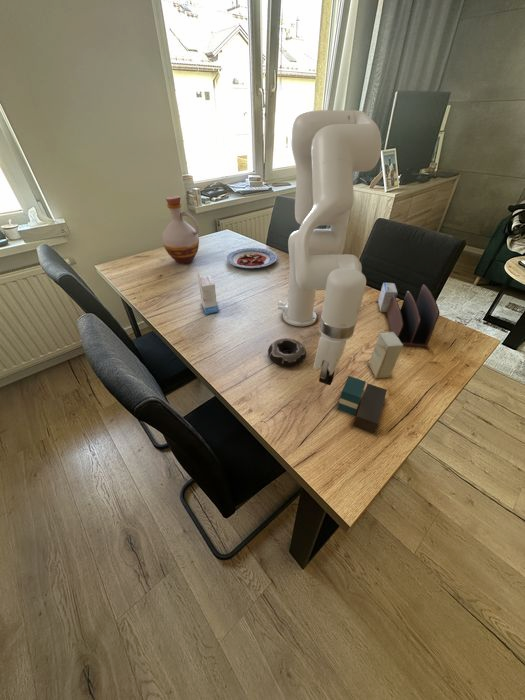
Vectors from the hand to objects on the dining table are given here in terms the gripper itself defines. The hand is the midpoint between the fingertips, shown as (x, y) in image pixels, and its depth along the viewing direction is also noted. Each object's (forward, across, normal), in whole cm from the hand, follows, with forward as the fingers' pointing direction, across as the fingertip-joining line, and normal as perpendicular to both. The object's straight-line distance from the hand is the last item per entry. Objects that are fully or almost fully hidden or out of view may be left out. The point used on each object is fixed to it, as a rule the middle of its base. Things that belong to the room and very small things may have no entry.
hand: (325, 381), depth 75 cm
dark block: (+5, +1, +12) cm, 13 cm away
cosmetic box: (+5, -16, +12) cm, 21 cm away
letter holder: (+6, -42, +16) cm, 46 cm away
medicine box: (+6, -54, +7) cm, 55 cm away
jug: (+8, -55, -93) cm, 108 cm away
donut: (+6, -9, -15) cm, 19 cm away
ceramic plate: (+8, -70, -62) cm, 94 cm away
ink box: (+6, -22, -54) cm, 59 cm away
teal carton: (+4, 0, +10) cm, 11 cm away
